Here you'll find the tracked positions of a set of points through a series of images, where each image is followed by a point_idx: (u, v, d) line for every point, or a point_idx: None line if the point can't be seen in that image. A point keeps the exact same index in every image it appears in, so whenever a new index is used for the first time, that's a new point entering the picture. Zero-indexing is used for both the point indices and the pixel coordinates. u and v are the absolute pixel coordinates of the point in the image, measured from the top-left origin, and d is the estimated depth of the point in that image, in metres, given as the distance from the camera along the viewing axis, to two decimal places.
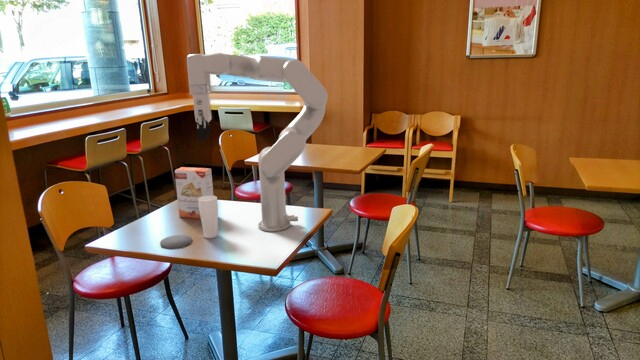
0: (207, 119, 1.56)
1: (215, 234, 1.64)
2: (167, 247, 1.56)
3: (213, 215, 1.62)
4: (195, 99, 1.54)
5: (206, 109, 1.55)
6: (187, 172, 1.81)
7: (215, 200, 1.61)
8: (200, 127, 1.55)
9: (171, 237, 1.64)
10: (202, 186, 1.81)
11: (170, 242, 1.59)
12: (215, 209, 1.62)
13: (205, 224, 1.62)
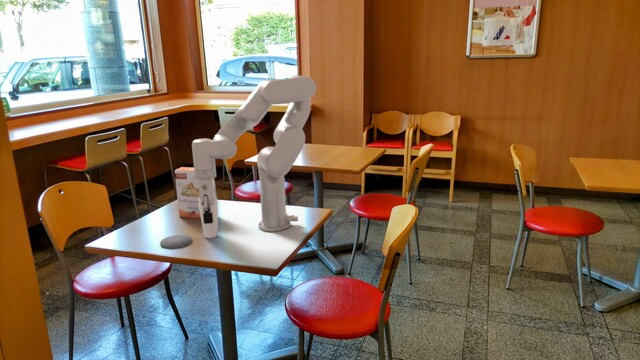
0: (212, 203, 1.58)
1: (215, 234, 1.64)
2: (167, 247, 1.56)
3: (213, 215, 1.62)
4: (200, 184, 1.56)
5: (211, 193, 1.57)
6: (187, 172, 1.81)
7: (215, 200, 1.62)
8: (206, 212, 1.58)
9: (171, 237, 1.64)
10: None
11: (170, 242, 1.59)
12: (215, 209, 1.62)
13: None
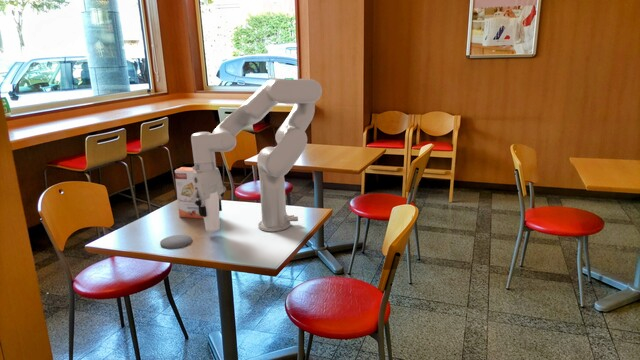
0: (201, 197, 1.57)
1: (212, 229, 1.63)
2: (167, 247, 1.56)
3: (207, 209, 1.60)
4: (194, 176, 1.58)
5: (200, 188, 1.56)
6: (187, 172, 1.81)
7: (210, 195, 1.59)
8: (198, 205, 1.59)
9: (171, 237, 1.64)
10: None
11: (170, 242, 1.59)
12: (210, 204, 1.60)
13: None
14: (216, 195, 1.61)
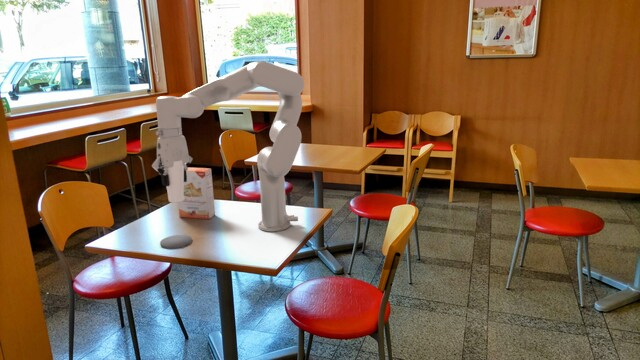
0: (164, 164, 1.49)
1: (174, 199, 1.55)
2: (167, 247, 1.56)
3: (170, 178, 1.52)
4: (157, 143, 1.50)
5: (163, 154, 1.48)
6: (187, 172, 1.81)
7: (174, 163, 1.51)
8: (160, 173, 1.51)
9: (171, 237, 1.64)
10: (202, 186, 1.81)
11: (170, 242, 1.59)
12: (173, 172, 1.52)
13: None
14: (180, 164, 1.53)
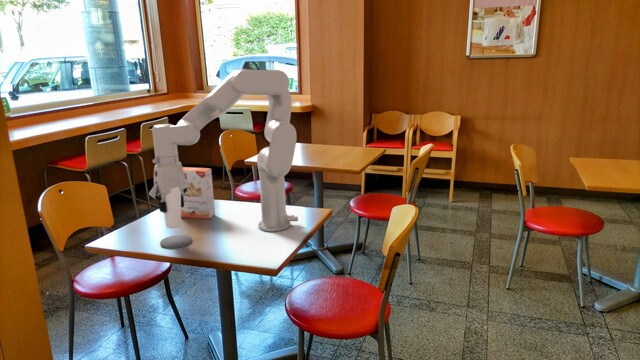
0: (161, 192, 1.50)
1: (172, 225, 1.56)
2: (167, 247, 1.56)
3: (168, 205, 1.54)
4: (154, 170, 1.51)
5: (160, 182, 1.50)
6: (187, 172, 1.81)
7: (171, 190, 1.53)
8: (157, 200, 1.53)
9: (171, 237, 1.64)
10: (202, 186, 1.81)
11: (170, 242, 1.59)
12: (170, 199, 1.53)
13: None
14: (177, 190, 1.55)
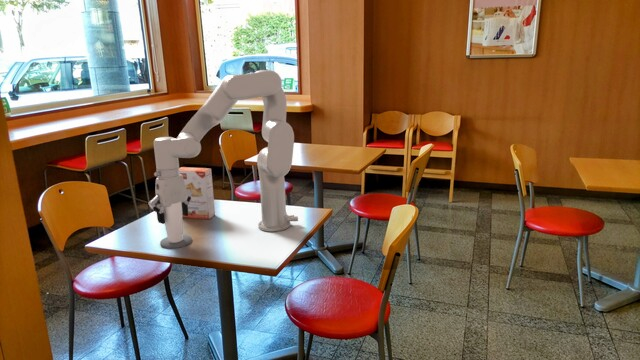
0: (163, 204, 1.52)
1: (174, 240, 1.58)
2: (167, 247, 1.56)
3: (169, 220, 1.55)
4: None
5: (162, 195, 1.51)
6: (187, 172, 1.81)
7: (172, 205, 1.54)
8: (156, 211, 1.53)
9: None
10: (202, 186, 1.81)
11: None
12: (172, 214, 1.55)
13: (165, 226, 1.58)
14: (179, 205, 1.56)
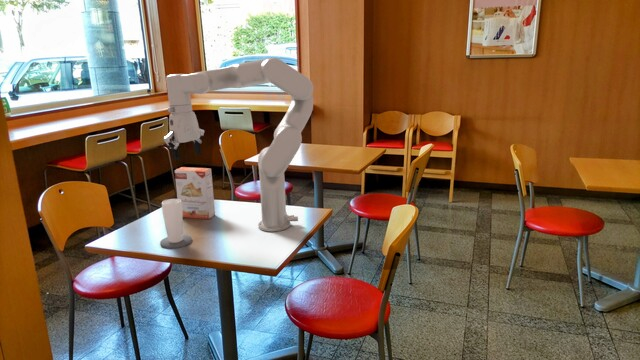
0: (177, 140, 1.55)
1: (174, 240, 1.58)
2: (167, 247, 1.56)
3: (169, 220, 1.55)
4: (169, 119, 1.55)
5: (176, 130, 1.54)
6: (187, 172, 1.81)
7: (173, 205, 1.54)
8: (171, 147, 1.56)
9: None
10: (202, 186, 1.81)
11: None
12: (172, 214, 1.55)
13: (165, 226, 1.58)
14: (179, 205, 1.56)
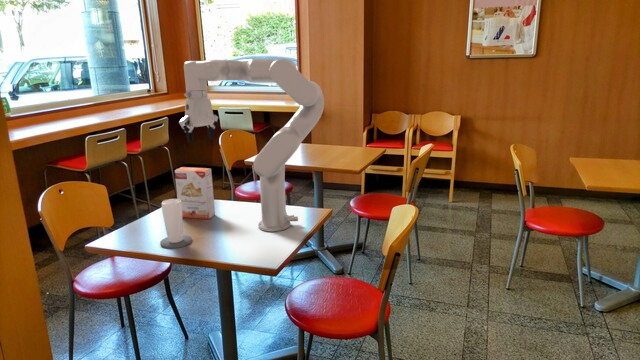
0: (192, 124, 1.62)
1: (174, 240, 1.58)
2: (167, 247, 1.56)
3: (169, 220, 1.55)
4: (185, 104, 1.62)
5: (191, 114, 1.61)
6: (187, 172, 1.81)
7: (172, 205, 1.54)
8: (185, 131, 1.63)
9: None
10: (202, 186, 1.81)
11: None
12: (172, 214, 1.55)
13: (165, 226, 1.58)
14: (179, 205, 1.56)
